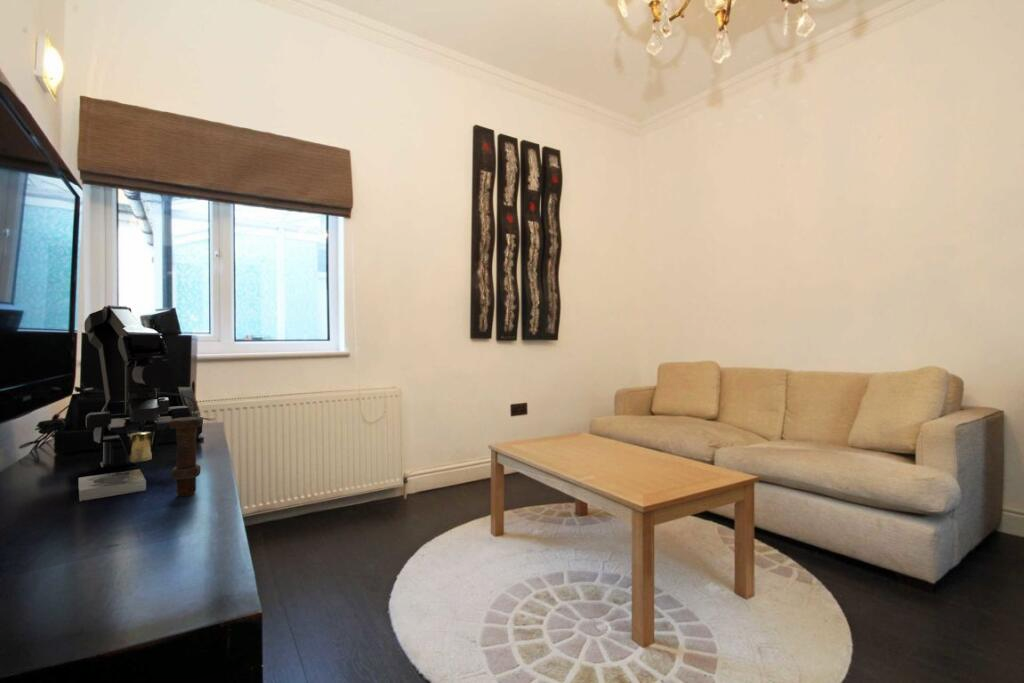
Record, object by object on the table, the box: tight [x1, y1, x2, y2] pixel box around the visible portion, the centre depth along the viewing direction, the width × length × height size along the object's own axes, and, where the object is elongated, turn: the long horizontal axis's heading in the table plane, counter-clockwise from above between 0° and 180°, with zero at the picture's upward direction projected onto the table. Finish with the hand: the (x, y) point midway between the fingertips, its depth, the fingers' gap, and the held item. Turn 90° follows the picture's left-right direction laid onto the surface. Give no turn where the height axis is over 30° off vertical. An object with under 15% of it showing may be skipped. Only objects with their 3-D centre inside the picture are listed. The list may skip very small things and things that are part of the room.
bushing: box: [129, 431, 153, 463], centre depth 109 cm, size 4×4×6 cm
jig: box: [78, 468, 147, 502], centre depth 98 cm, size 12×10×2 cm
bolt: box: [168, 416, 204, 497], centre depth 94 cm, size 6×5×15 cm
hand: (140, 454), depth 109 cm, fingers closed on bushing, 4 cm apart
